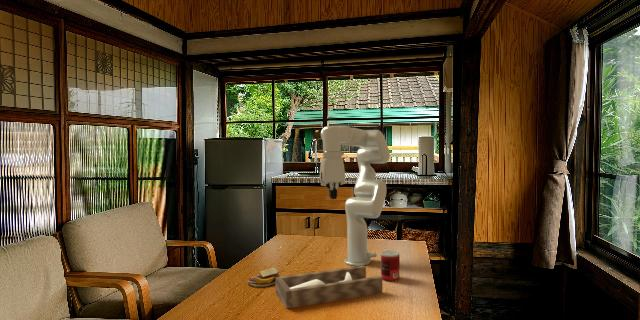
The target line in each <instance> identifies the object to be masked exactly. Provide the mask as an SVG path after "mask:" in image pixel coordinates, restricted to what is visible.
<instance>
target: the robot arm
mask: <svg viewBox="0 0 640 320" xmlns="http://www.w3.org/2000/svg"><path fill="white" fill-rule="evenodd" d="M320 138H321V140H322V157H323V158H322V159H321V160H320V167H319V180H320V186H323V187H326V188H327V189H328V193H329V194H328V196H329V198H330V200H337V197H338V190H339V188H340V186H342V185H345V184H346V182H345V181H346V172H345V163H344V160H343V158H342V156H344V155H345V153H344V152H342V146H348V147H349V146H350V147H356V148H358V147H359V149H358V150H357V152H356V161H357V165H358V169H359V171H358V172H359V173H358V176H357V179H356V182H355V185H354V189H353V194H354V196H351V197H349V198H347V199H346V200H345V203H344V210H345V216H346V225H347V226H346V227H347V229H346V230H347V233H346V234H347V237H346V238H347V239H346V241H347V242H346V243H347V257H346V258H344V263H345V264H346V265H349V266H352V267H357V266H367V265H369V264H371V261H372V260H371V258H376V257H377V256H378V255H377V253H376V252H371V251H370V252H369V251H368V225H367V223H366V221H365V219H364V218H367V219H377V218H379V217H380V216H381V213H382V209H383V208H384V203H385V199H386V198H387V190H388V189H387V184H386V183H385V182H384V180H381V179H376V176H377V174H376V171H375V169H374V168H373V167H372V166H371V164H377V165H378V164H380V165H382V164H387V163H388V162H389V161H390V158H391V157H390V156H391V154H390V150H389V146H388V144H387V141H386V137H385V136H384V134H383V132H382V131H381V130H379V129H360V128H357V127H351V126H349V125H327V126H324V127H323V128H322V129H321V131H320Z"/></svg>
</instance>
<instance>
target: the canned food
mask: <svg viewBox="0 0 640 320" xmlns="http://www.w3.org/2000/svg"><path fill="white" fill-rule="evenodd" d="M400 260H401V259H400V253H399V252H398V251H396V250H384V251H381V253H380V277H382V281H385V282H392V283H393V282H397V281H399V280H400V273H401V272H400V271H401V269H400V265H401V264H400Z"/></svg>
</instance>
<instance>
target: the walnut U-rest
mask: <svg viewBox="0 0 640 320" xmlns="http://www.w3.org/2000/svg"><path fill="white" fill-rule="evenodd" d="M347 272H349V273H350V275H351V278H352V280H349V281H344V280H345V276H346V273H347ZM315 279H318V280H320V281H322V282H323V283H324V284H321V285H315V286H308V287H301V288H294V289H290V288H291V287H294V286H297V285H300V284H303V283H306V282H309V281H312V280H315ZM340 281H342V282H340ZM274 285H275V294H276V295H277V297H278V298H279V300H280V301H281V303H282V304H283V306H284V307H285V309H286V310H287V309H291V308H298V307H305V306H311V305H318V304H323V303H330V302H336V301H341V300H342V301H343V300H348V299H355V298H359V297H360V298H362V297H365V296H366V297H367V296H372V295H373V296H375V295H379V294H383V279H382V277H381V275H378V276H371V277H367V267H366V265H363V266H351V267H344V268H337V269H330V270H329V269H328V270H321V271H320V270H319V271H314V272H306V273H299V274H298V273H297V274H289V275H283V276H280V277H275V284H274Z"/></svg>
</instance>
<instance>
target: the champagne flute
mask: <svg viewBox="0 0 640 320" xmlns="http://www.w3.org/2000/svg"><path fill="white" fill-rule="evenodd" d="M349 280H352V278H351V275H350V273H349V272H347V273H346V276H345V280H344V281H349ZM340 282H342V281H340ZM321 284H324V283H323V282H322V281H320V280H318V279H315V280H312V281H309V282H306V283H303V284H300V285H297V286H294V287H291V288H290V289H294V288H301V287H308V286H315V285H321Z"/></svg>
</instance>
